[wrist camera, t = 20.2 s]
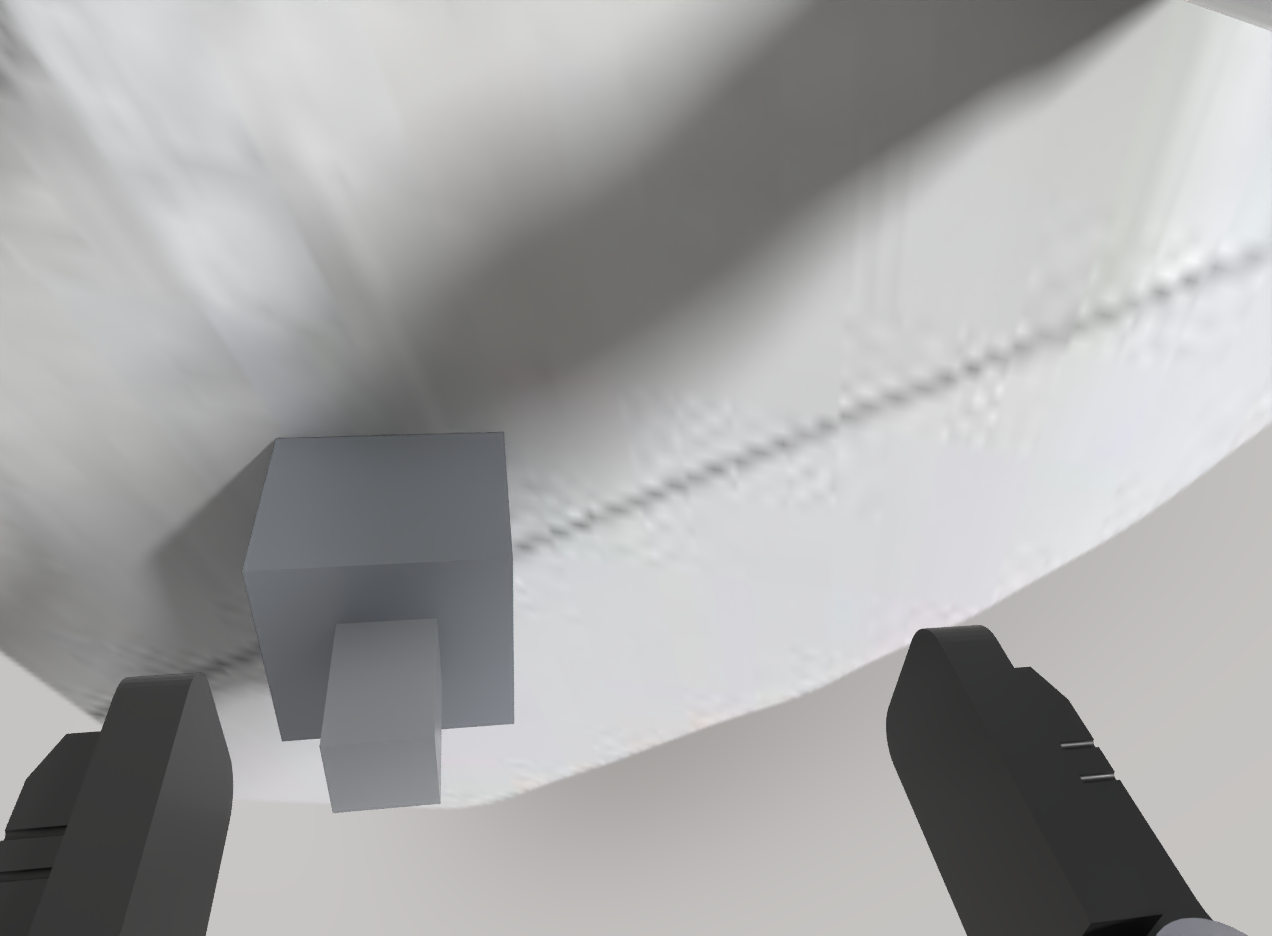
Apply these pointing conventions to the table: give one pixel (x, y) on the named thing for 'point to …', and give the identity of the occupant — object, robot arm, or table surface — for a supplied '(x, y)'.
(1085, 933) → the robot arm
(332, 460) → the grey stepped block
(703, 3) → the table surface
